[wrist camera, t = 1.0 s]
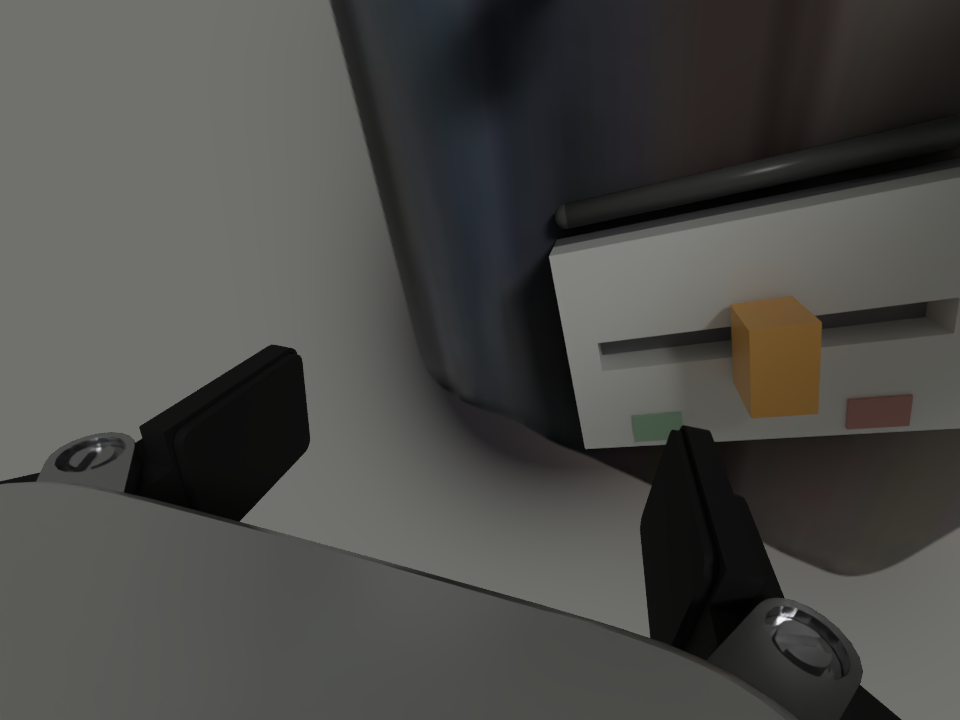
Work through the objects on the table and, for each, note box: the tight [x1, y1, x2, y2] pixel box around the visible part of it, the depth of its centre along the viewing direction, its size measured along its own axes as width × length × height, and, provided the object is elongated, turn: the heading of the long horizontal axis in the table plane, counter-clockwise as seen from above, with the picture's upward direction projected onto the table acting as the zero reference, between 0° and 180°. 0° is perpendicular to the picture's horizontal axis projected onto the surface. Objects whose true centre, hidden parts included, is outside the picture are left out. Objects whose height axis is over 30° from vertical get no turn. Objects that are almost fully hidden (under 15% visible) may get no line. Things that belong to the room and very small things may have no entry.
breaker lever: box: [730, 296, 822, 419], centre depth 26 cm, size 3×5×6 cm, turn 14°
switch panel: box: [549, 115, 960, 449], centre depth 28 cm, size 22×16×5 cm
